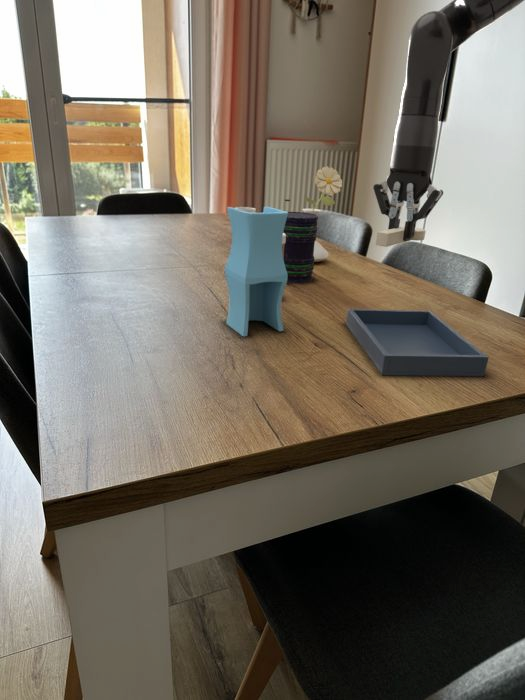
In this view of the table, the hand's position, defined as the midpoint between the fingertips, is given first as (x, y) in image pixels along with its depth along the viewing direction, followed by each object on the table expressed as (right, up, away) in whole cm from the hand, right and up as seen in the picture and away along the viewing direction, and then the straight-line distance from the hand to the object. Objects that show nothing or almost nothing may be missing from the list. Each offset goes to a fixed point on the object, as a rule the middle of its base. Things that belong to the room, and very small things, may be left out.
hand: (399, 239), depth 100 cm
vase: (-28, -18, -9) cm, 35 cm away
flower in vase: (-13, +3, +43) cm, 45 cm away
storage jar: (-20, -4, +24) cm, 31 cm away
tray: (-3, -21, -15) cm, 26 cm away
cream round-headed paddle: (0, 0, 0) cm, 0 cm away
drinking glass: (-33, +14, +67) cm, 76 cm away
